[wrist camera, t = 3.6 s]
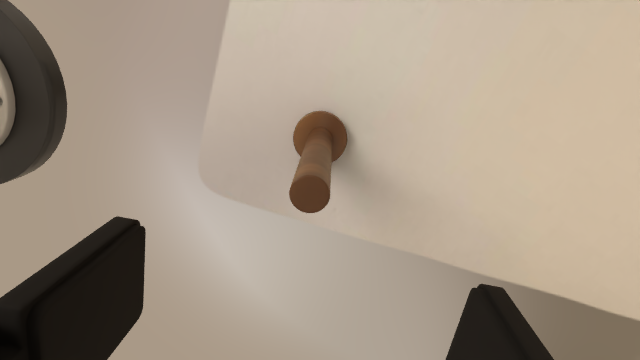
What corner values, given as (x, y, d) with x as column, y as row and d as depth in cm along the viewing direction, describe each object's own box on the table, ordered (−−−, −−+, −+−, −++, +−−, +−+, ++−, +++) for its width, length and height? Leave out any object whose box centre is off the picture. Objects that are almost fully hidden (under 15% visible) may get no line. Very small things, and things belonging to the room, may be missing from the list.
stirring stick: (290, 157, 32) (259, 227, 19) (298, 106, 31) (271, 143, 18) (341, 166, 32) (345, 242, 19) (351, 116, 31) (363, 160, 18)
